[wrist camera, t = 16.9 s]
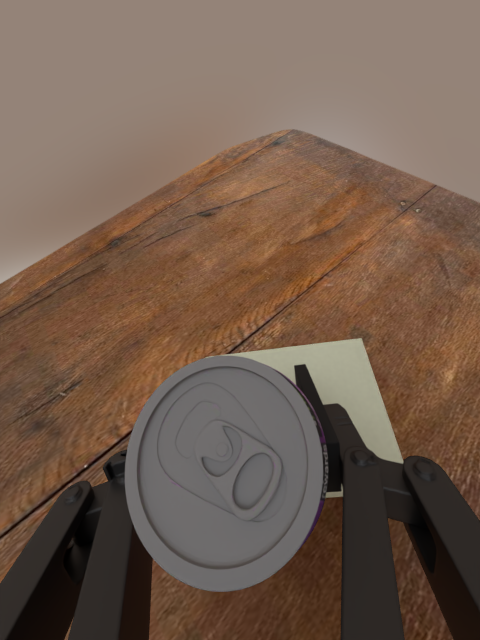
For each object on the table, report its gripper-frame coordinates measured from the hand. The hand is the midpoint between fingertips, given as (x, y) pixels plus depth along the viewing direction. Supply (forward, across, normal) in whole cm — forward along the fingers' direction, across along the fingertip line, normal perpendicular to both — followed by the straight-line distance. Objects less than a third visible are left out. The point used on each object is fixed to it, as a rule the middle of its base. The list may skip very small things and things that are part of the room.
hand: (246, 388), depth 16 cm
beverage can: (0, 0, -5) cm, 5 cm away
